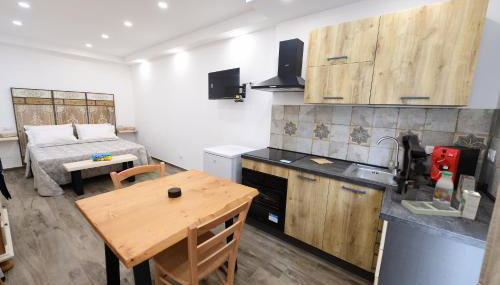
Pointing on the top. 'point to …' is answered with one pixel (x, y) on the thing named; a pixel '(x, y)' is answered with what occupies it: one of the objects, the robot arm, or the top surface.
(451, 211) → the socket strip
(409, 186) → the plug block
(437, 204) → the twin plug block
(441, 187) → the milk bottle
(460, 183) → the coffee box
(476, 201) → the syrup box
